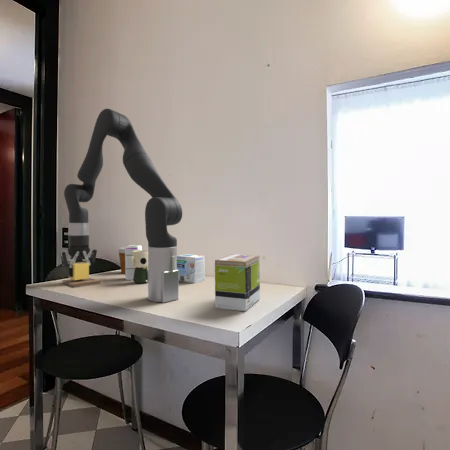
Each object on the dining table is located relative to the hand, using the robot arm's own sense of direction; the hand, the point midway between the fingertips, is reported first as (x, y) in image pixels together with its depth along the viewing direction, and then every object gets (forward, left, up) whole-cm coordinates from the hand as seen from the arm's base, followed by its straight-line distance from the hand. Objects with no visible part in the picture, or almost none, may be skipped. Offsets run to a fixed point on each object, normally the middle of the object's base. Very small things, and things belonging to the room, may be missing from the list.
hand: (79, 275), depth 125 cm
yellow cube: (0, 0, -1) cm, 1 cm away
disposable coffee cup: (+7, -26, -3) cm, 27 cm away
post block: (-1, 0, -3) cm, 3 cm away
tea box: (-66, -22, -3) cm, 69 cm away
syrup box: (-8, -20, -3) cm, 22 cm away
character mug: (-17, -18, -3) cm, 25 cm away
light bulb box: (-28, -35, -3) cm, 45 cm away
